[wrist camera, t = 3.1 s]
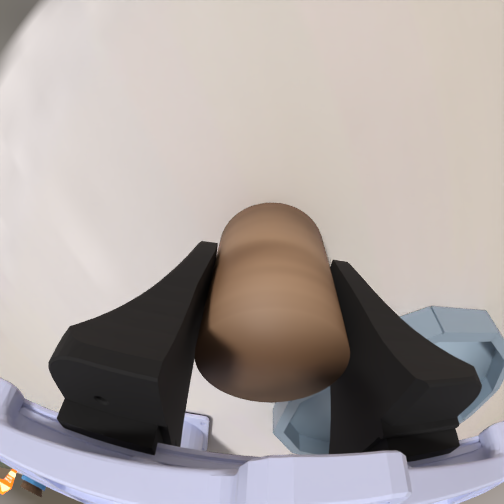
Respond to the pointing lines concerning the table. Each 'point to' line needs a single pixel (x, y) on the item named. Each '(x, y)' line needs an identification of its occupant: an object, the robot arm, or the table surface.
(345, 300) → the robot arm
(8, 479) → the orange juice
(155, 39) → the table surface
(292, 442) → the round tray
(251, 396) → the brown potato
